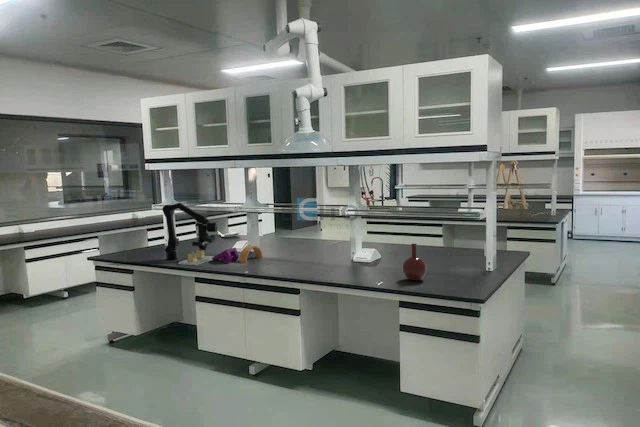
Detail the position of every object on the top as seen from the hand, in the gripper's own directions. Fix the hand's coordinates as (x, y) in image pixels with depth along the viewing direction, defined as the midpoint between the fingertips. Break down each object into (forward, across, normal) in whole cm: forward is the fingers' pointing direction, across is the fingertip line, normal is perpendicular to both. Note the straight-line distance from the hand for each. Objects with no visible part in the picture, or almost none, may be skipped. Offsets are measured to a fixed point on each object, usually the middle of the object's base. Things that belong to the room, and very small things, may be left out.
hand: (203, 253), depth 338 cm
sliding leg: (+2, -4, 0) cm, 4 cm away
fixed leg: (+2, -14, 0) cm, 14 cm away
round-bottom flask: (+4, -28, -154) cm, 157 cm away
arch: (+4, +5, -36) cm, 36 cm away
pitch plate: (+4, -8, 0) cm, 9 cm away
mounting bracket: (+4, -4, -19) cm, 20 cm away
